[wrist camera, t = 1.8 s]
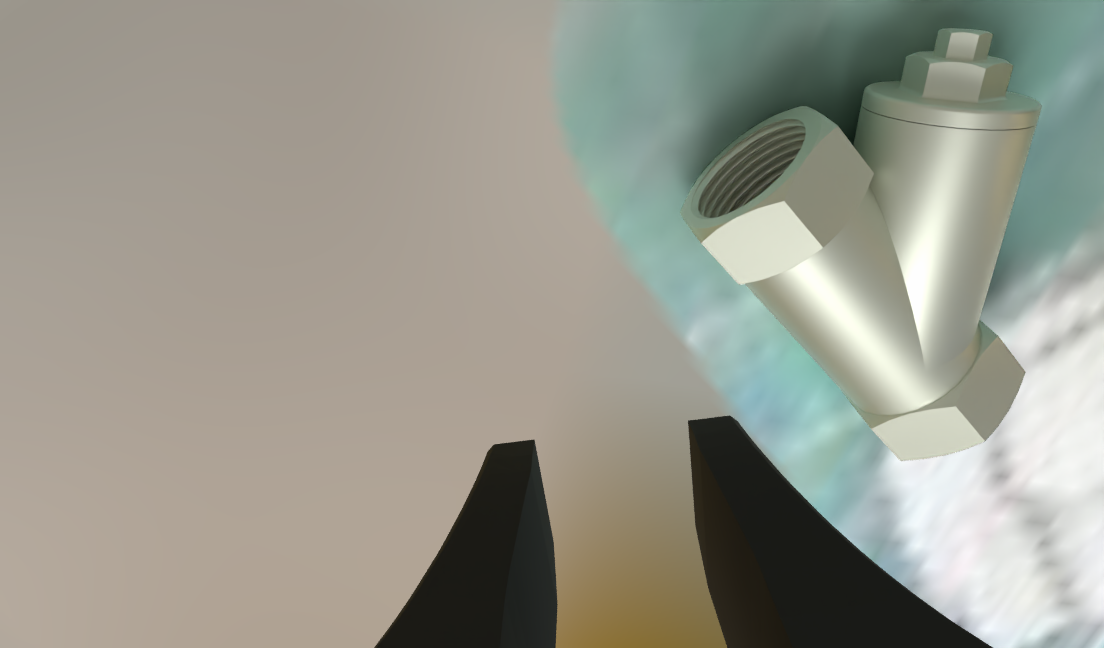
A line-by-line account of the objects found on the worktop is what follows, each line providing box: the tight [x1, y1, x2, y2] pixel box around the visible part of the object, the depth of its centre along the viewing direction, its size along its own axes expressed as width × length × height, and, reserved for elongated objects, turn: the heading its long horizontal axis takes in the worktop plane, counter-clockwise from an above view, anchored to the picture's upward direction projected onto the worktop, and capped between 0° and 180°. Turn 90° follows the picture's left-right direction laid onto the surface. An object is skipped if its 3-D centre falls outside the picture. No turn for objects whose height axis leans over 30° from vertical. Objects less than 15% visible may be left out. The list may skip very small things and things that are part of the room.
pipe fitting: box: [680, 28, 1041, 461], centre depth 18 cm, size 8×4×7 cm
